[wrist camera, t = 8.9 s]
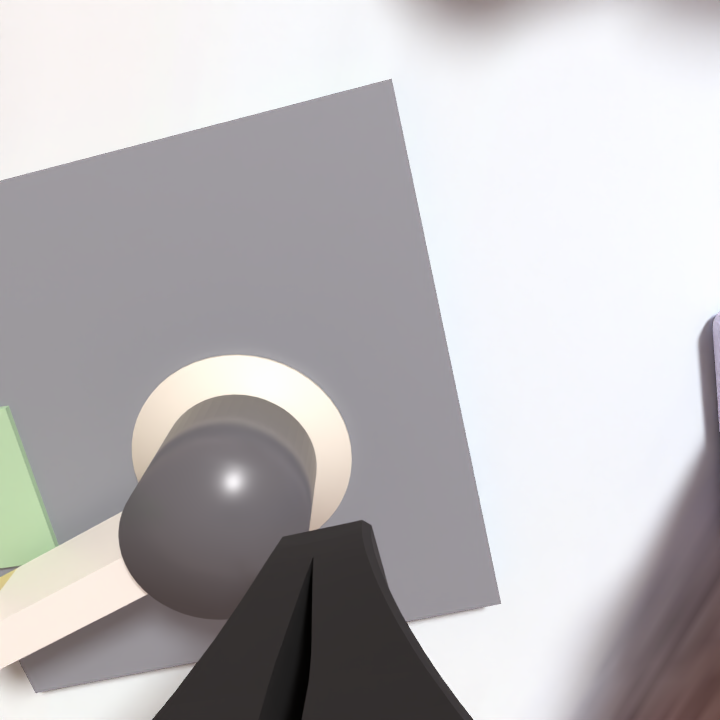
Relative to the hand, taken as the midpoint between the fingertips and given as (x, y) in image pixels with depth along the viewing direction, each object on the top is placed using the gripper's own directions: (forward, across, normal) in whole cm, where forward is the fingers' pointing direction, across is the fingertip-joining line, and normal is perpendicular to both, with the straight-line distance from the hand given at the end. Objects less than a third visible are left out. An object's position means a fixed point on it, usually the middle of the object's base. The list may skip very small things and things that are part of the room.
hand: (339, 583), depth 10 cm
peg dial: (+9, +7, +3) cm, 12 cm away
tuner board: (+10, +5, +1) cm, 12 cm away
